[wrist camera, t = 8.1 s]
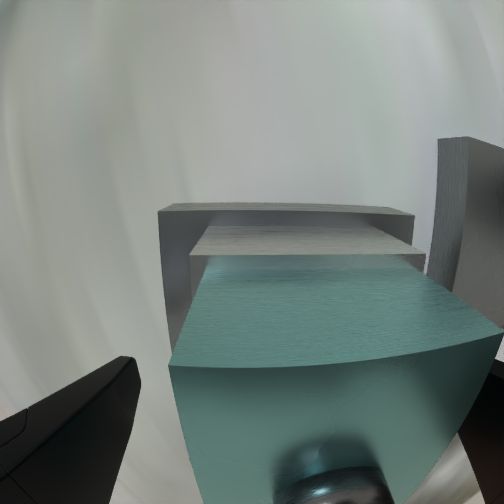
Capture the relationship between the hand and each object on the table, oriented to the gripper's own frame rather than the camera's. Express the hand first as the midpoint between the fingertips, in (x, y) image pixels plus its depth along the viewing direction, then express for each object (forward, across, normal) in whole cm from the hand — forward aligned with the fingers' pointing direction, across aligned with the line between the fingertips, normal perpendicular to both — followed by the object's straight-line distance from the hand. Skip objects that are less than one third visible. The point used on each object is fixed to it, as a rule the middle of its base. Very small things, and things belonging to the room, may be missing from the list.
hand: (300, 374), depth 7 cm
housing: (+2, 0, 0) cm, 2 cm away
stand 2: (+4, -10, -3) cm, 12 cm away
